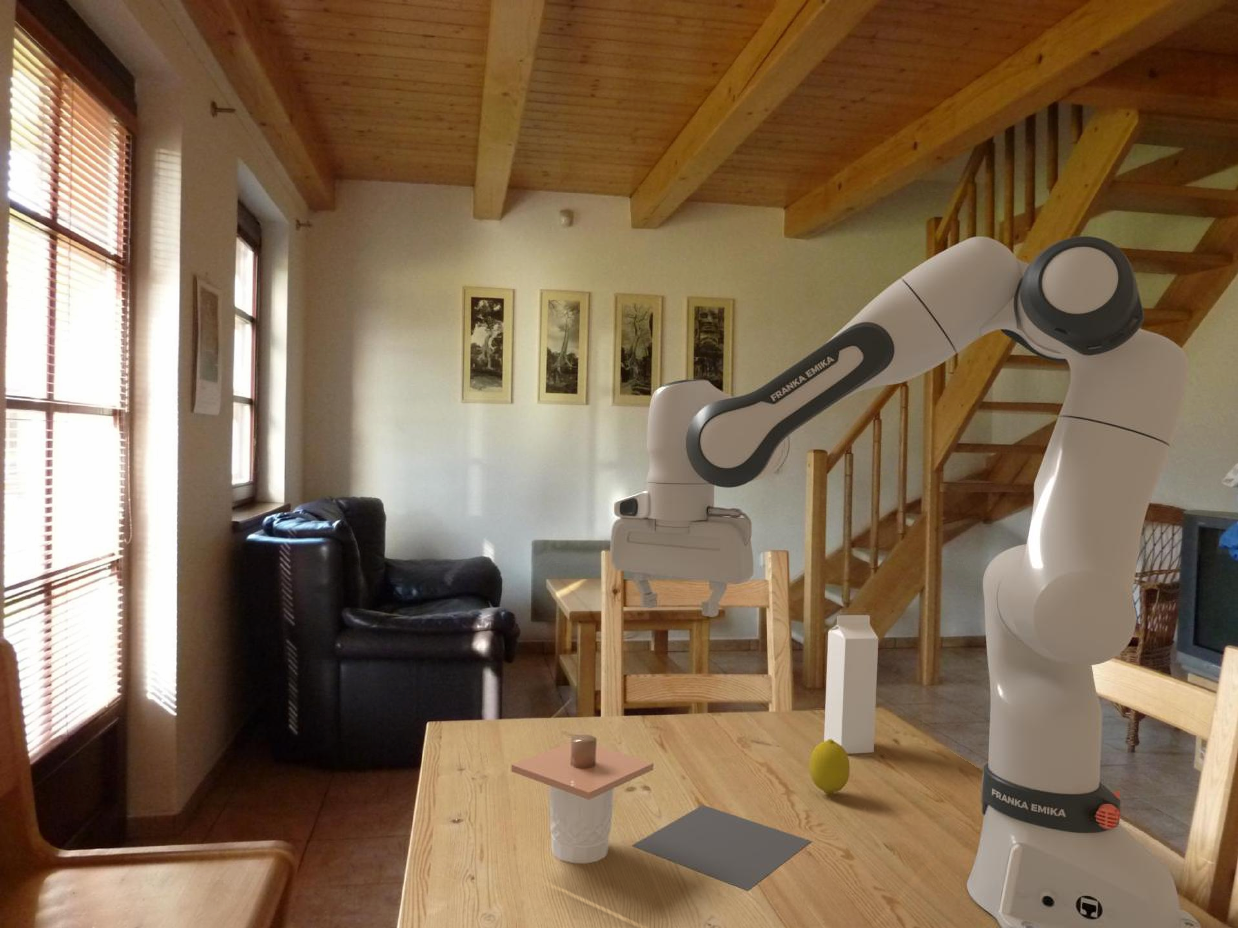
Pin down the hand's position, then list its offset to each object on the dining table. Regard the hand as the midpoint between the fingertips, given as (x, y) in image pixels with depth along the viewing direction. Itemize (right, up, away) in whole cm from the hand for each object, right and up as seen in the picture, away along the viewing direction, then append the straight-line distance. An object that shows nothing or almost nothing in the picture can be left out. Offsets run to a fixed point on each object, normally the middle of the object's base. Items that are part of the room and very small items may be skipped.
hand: (678, 611), depth 113 cm
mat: (+5, -28, -6) cm, 29 cm away
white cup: (-12, -28, -9) cm, 32 cm away
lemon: (+22, -28, +11) cm, 37 cm away
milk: (+30, -28, +31) cm, 52 cm away
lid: (-12, -17, -9) cm, 23 cm away
